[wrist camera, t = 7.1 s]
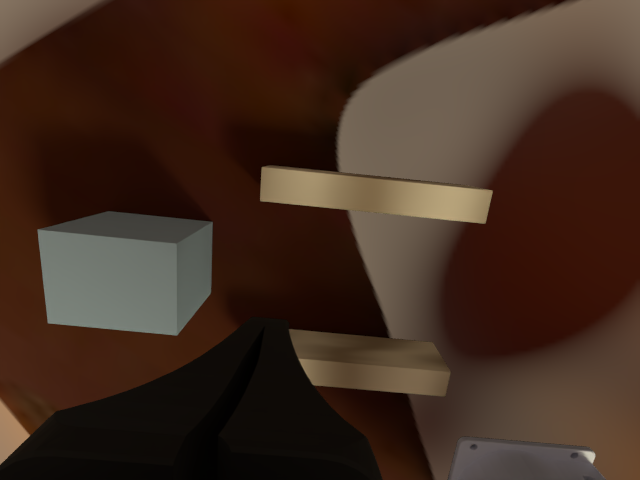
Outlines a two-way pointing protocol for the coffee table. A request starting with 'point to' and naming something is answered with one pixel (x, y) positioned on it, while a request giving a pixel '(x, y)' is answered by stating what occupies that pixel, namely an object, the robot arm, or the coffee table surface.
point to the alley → (365, 351)
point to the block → (126, 271)
